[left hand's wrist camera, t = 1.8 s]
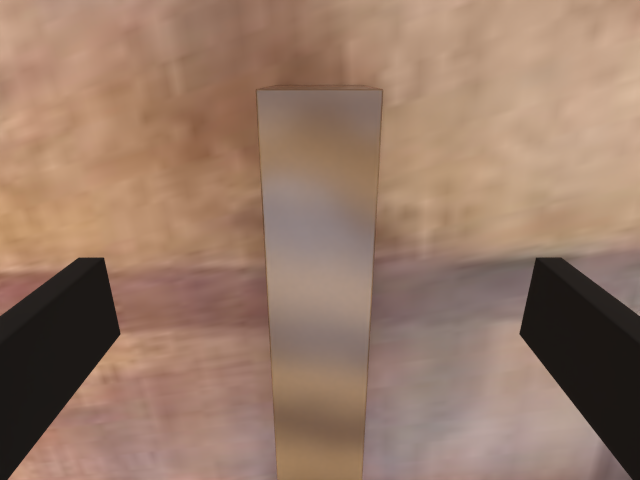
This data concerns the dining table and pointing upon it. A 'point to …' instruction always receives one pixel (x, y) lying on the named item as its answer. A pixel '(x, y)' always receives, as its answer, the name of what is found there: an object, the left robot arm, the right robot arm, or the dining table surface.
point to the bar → (319, 269)
